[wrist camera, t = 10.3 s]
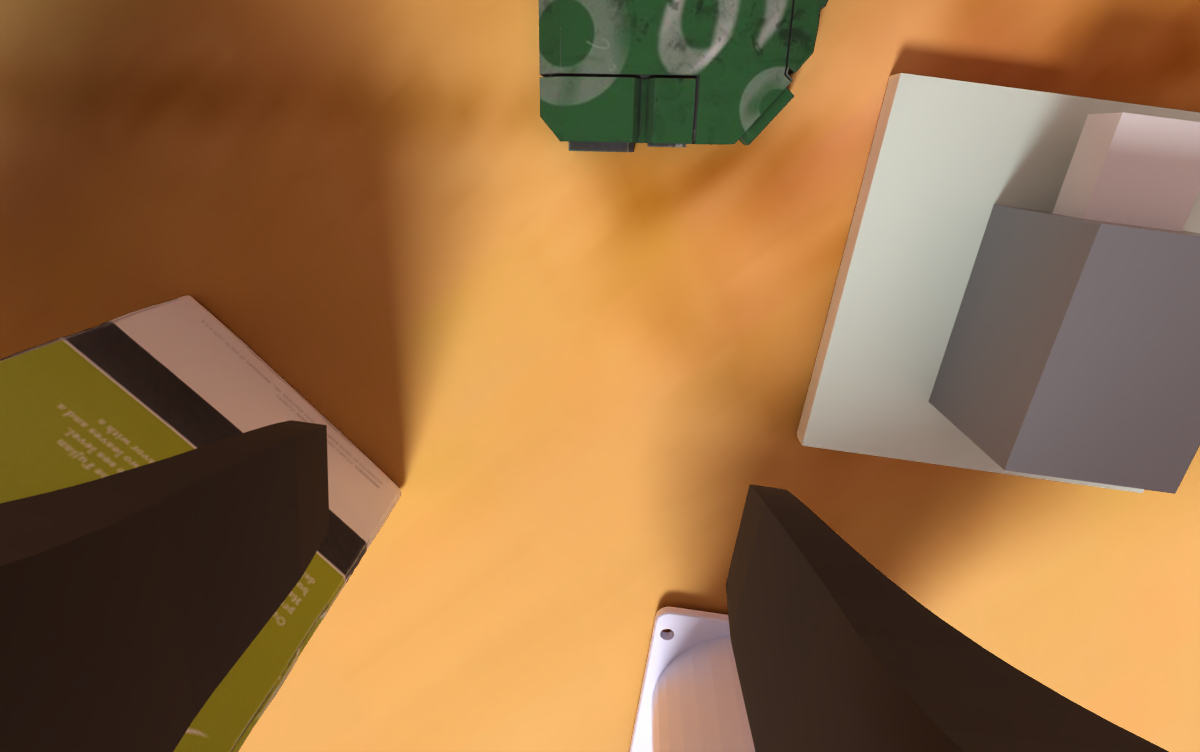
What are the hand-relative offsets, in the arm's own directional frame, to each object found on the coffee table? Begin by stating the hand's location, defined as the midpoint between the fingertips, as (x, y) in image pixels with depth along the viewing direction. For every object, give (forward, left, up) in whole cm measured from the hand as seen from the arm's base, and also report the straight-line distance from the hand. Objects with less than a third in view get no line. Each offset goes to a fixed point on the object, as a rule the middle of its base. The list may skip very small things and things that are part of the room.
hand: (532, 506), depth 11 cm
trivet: (+3, -13, -10) cm, 17 cm away
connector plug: (+4, -13, -10) cm, 17 cm away
